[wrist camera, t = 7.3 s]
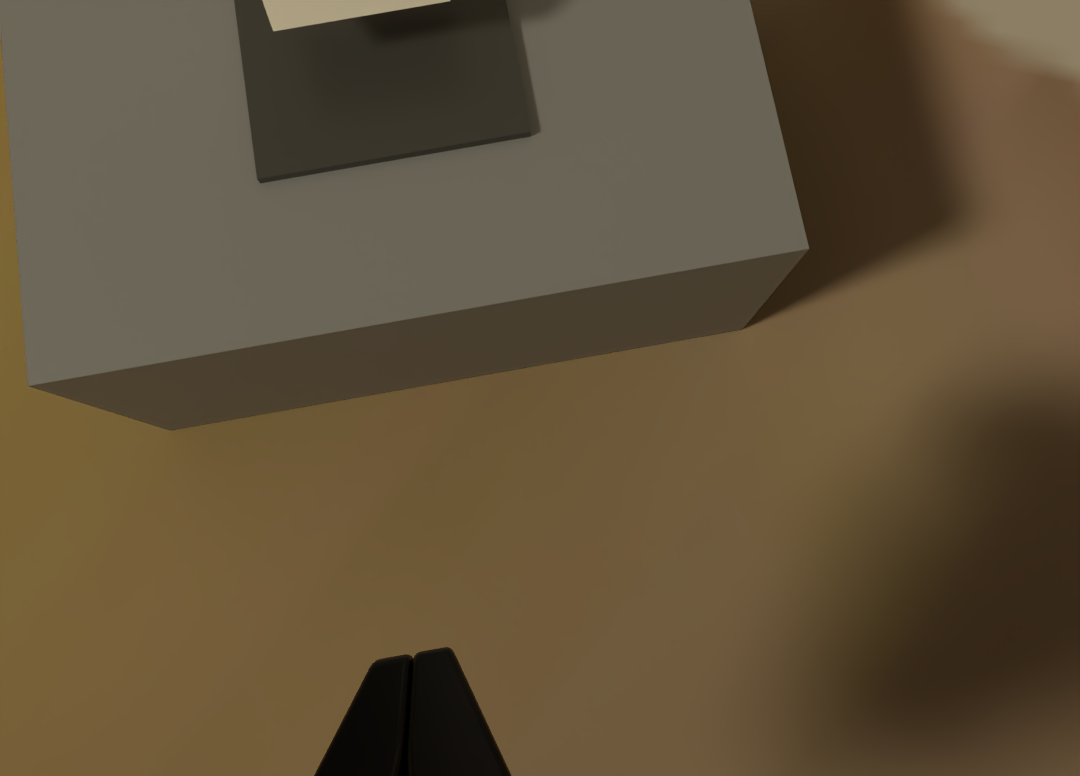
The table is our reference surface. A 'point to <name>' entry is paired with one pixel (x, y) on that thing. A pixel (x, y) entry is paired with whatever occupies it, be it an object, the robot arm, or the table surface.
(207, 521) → the table surface
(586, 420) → the table surface
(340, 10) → the breaker lever
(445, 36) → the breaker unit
